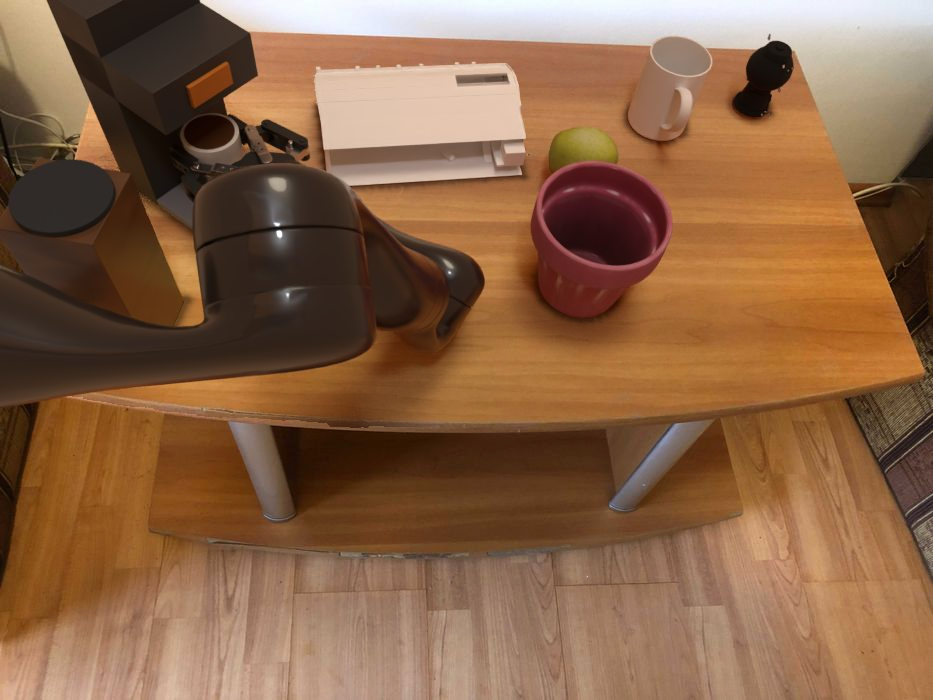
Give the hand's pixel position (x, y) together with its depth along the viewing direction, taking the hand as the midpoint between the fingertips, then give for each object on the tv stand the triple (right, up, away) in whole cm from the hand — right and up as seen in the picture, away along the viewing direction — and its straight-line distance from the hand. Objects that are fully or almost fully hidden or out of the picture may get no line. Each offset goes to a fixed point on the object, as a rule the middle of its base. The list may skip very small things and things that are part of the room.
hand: (197, 135), depth 80 cm
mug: (+55, +6, +19) cm, 58 cm away
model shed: (+23, +4, +14) cm, 27 cm away
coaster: (-4, -11, -20) cm, 23 cm away
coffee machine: (-1, -4, +7) cm, 8 cm away
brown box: (-5, -21, -4) cm, 22 cm away
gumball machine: (+69, +10, +23) cm, 74 cm away
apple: (+43, -3, +13) cm, 45 cm away
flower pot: (+42, -16, +4) cm, 45 cm away
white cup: (+1, -5, +5) cm, 7 cm away
